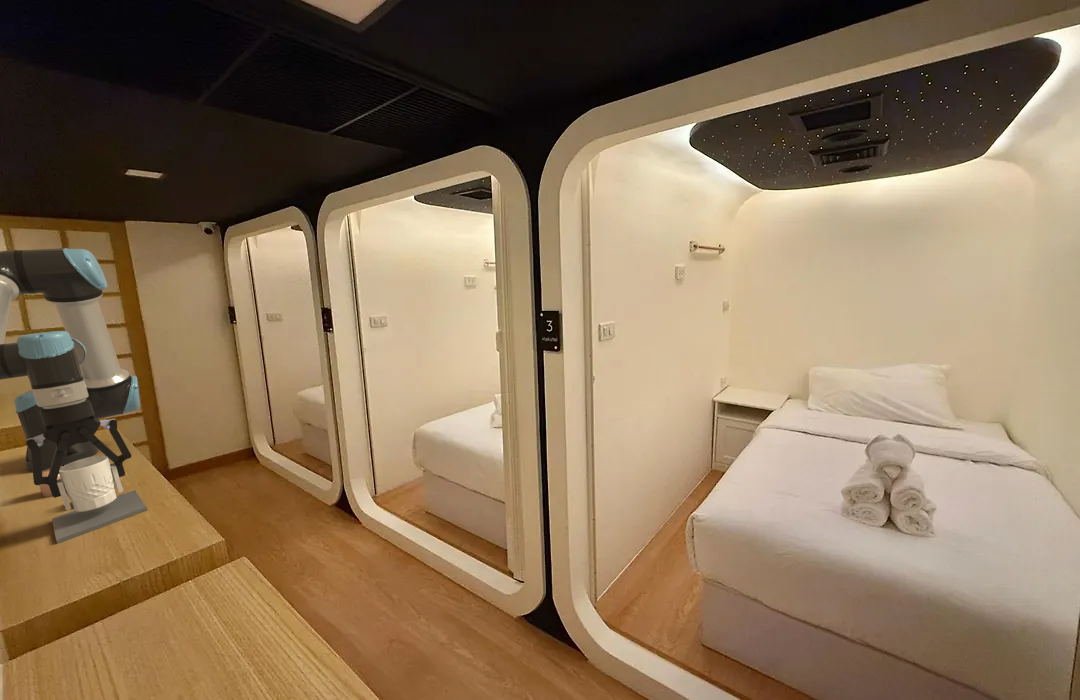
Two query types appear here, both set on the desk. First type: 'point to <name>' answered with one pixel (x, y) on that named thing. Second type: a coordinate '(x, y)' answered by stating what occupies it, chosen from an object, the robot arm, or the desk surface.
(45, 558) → the desk surface
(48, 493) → the copper rounded block
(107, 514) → the coaster
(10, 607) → the desk surface
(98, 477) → the white cup
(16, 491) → the desk surface
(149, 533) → the desk surface
